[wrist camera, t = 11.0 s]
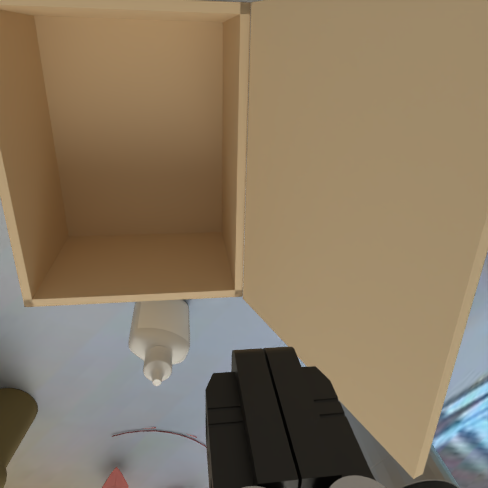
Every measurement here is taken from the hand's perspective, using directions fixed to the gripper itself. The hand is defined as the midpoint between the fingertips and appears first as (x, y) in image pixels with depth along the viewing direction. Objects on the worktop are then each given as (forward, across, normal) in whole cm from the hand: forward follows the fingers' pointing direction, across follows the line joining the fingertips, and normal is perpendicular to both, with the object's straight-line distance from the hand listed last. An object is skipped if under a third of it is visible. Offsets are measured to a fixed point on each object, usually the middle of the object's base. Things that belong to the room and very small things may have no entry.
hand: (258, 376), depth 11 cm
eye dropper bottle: (+32, +4, +18) cm, 37 cm away
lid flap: (+12, -5, 0) cm, 13 cm away
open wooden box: (+32, +5, 0) cm, 33 cm away
